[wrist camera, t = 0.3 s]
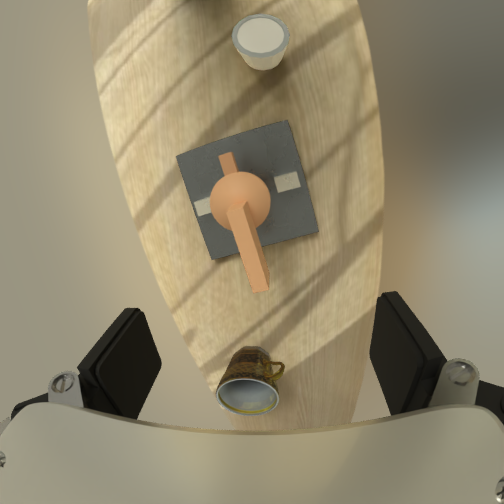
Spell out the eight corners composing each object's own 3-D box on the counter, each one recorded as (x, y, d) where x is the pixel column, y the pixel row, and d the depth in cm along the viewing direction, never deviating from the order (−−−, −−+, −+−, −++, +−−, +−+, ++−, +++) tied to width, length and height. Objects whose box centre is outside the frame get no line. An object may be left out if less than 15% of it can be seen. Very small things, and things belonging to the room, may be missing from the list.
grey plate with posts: (178, 156, 37) (155, 157, 29) (286, 120, 34) (290, 111, 26) (213, 257, 41) (200, 280, 34) (317, 229, 39) (327, 247, 31)
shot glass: (277, 80, 32) (277, 65, 25) (231, 66, 32) (222, 48, 25) (294, 43, 30) (297, 22, 23) (249, 29, 29) (244, 8, 23)
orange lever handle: (199, 163, 29) (183, 165, 23) (254, 145, 28) (250, 142, 22) (237, 275, 33) (230, 298, 28) (289, 262, 32) (292, 283, 27)
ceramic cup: (253, 383, 50) (249, 422, 41) (214, 357, 48) (203, 396, 39) (302, 349, 46) (306, 389, 37) (261, 318, 45) (258, 358, 35)
